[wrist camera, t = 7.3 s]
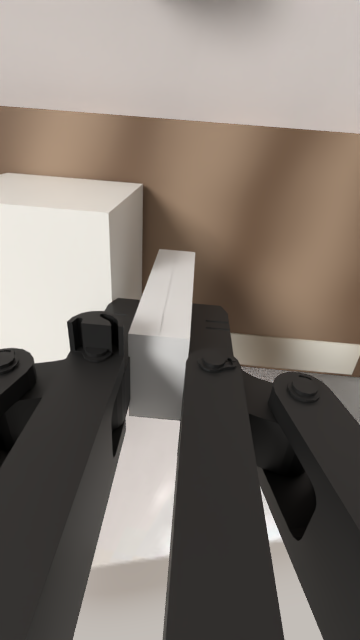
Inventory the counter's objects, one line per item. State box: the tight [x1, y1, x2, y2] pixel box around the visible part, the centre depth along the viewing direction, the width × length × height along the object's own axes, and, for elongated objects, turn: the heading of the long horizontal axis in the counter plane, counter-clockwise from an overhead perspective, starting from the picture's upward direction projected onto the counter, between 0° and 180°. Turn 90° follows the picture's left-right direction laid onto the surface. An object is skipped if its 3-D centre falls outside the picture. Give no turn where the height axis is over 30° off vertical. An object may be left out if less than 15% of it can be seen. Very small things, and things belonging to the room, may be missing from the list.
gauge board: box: [0, 106, 360, 377], centre depth 14 cm, size 30×12×10 cm, turn 86°
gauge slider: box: [0, 173, 143, 363], centre depth 14 cm, size 9×10×6 cm
